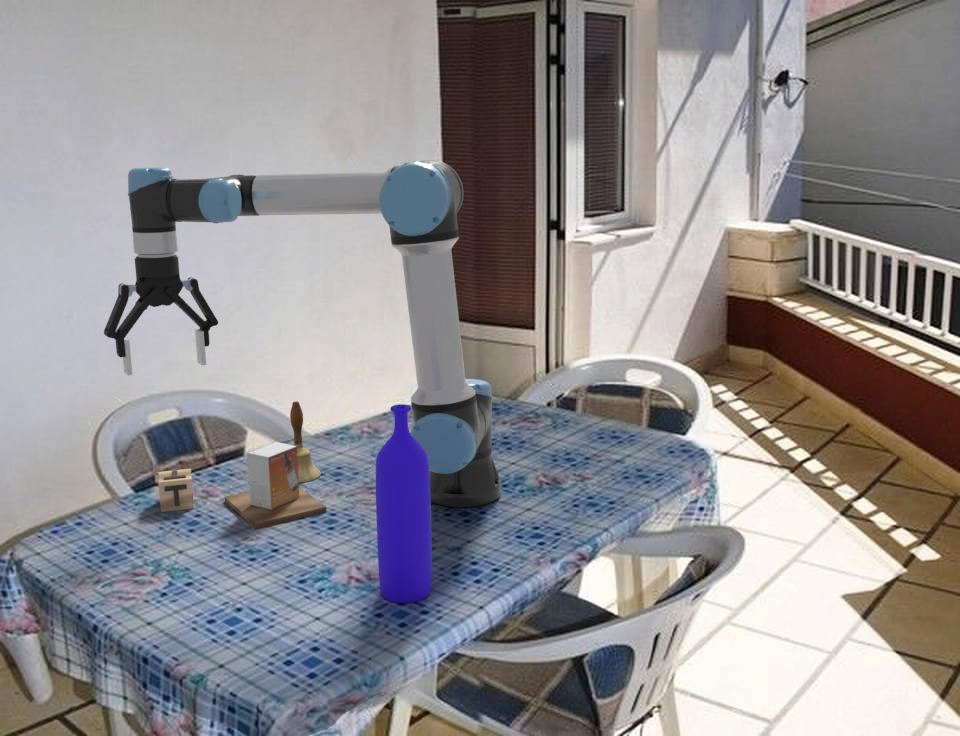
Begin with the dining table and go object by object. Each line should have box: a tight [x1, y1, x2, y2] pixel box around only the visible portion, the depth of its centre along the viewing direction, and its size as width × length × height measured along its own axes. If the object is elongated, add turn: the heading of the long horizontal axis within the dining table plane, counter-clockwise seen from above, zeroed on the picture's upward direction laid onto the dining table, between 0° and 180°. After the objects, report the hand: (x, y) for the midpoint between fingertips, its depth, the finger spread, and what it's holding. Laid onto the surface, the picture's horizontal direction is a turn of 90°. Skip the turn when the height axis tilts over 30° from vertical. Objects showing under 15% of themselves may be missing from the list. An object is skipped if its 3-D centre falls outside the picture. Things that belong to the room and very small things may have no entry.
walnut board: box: [224, 486, 328, 529], centre depth 185 cm, size 16×14×1 cm
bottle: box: [375, 403, 433, 604], centre depth 146 cm, size 8×8×30 cm
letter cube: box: [157, 468, 195, 513], centre depth 185 cm, size 6×6×6 cm
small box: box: [246, 441, 300, 510], centre depth 183 cm, size 8×6×10 cm
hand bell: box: [289, 400, 322, 484], centre depth 199 cm, size 8×8×16 cm
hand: (165, 368), depth 180 cm, fingers open, 13 cm apart
